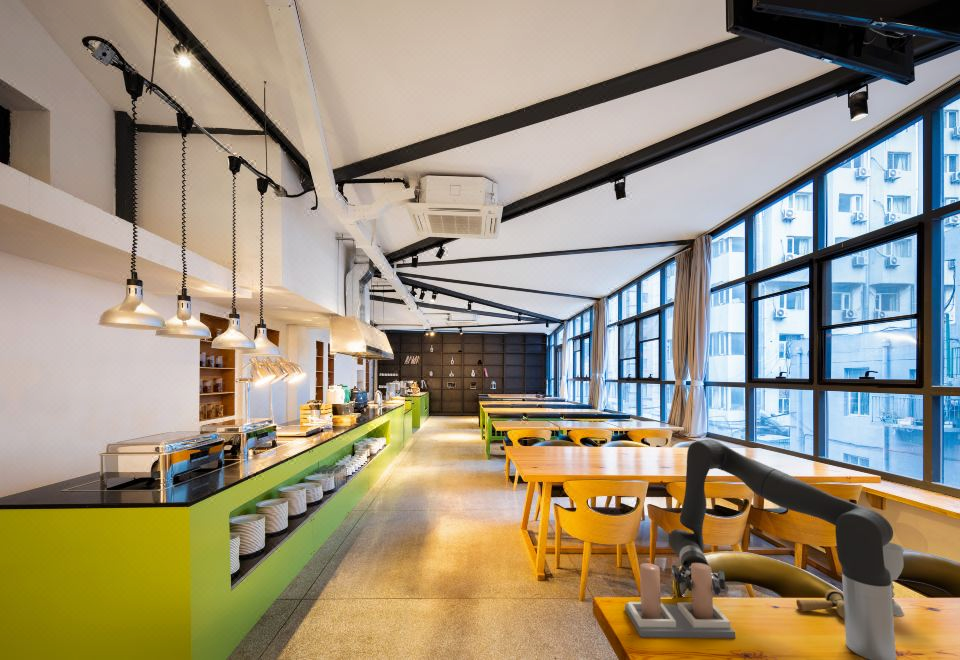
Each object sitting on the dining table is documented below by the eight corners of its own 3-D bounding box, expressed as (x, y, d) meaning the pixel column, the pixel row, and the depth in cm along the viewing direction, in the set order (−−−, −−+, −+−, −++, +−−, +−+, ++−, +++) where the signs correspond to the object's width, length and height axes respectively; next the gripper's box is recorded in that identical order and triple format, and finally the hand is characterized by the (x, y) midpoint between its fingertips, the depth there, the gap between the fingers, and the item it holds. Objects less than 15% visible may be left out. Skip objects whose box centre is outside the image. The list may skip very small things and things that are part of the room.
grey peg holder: (709, 610, 128) (707, 557, 129) (735, 637, 115) (733, 578, 116) (625, 609, 128) (623, 556, 129) (641, 637, 115) (639, 578, 116)
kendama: (810, 625, 124) (882, 620, 121) (803, 599, 125) (873, 594, 123) (796, 615, 131) (863, 610, 129) (789, 591, 133) (855, 586, 131)
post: (700, 610, 125) (699, 561, 127) (717, 619, 121) (715, 568, 122) (688, 614, 123) (687, 564, 124) (705, 623, 118) (703, 571, 120)
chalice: (883, 615, 126) (878, 548, 127) (870, 603, 132) (866, 539, 134) (915, 619, 124) (910, 551, 125) (900, 607, 130) (896, 542, 132)
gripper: (667, 547, 138) (673, 570, 122) (719, 553, 134) (733, 578, 118) (668, 572, 138) (674, 599, 122) (720, 579, 134) (734, 608, 118)
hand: (703, 589), depth 120 cm, fingers open, 6 cm apart
